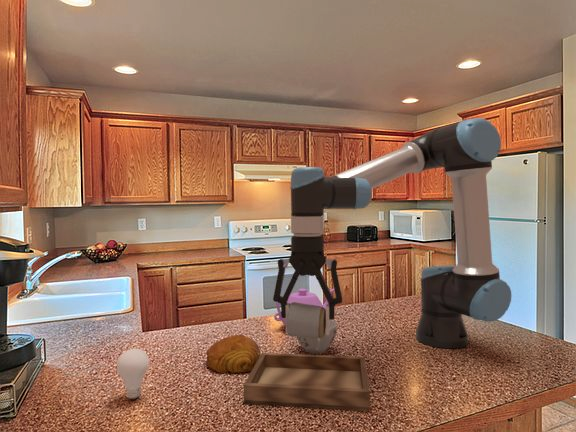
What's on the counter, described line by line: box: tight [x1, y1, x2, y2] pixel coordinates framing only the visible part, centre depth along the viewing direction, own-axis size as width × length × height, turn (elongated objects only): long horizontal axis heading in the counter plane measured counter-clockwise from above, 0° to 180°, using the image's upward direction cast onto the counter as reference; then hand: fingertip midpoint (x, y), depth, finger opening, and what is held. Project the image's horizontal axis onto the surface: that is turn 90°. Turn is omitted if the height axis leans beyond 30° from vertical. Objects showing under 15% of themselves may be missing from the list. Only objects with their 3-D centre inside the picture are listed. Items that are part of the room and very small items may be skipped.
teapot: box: [273, 288, 335, 327], centre depth 133 cm, size 22×16×14 cm
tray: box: [243, 352, 371, 412], centre depth 89 cm, size 26×18×4 cm
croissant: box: [205, 334, 261, 375], centre depth 104 cm, size 14×16×8 cm
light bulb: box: [116, 347, 150, 400], centre depth 85 cm, size 7×7×11 cm
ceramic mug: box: [287, 302, 326, 338], centre depth 90 cm, size 11×8×8 cm
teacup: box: [296, 320, 338, 355], centre depth 111 cm, size 15×12×8 cm
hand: (307, 332), depth 89 cm, fingers closed on ceramic mug, 8 cm apart
